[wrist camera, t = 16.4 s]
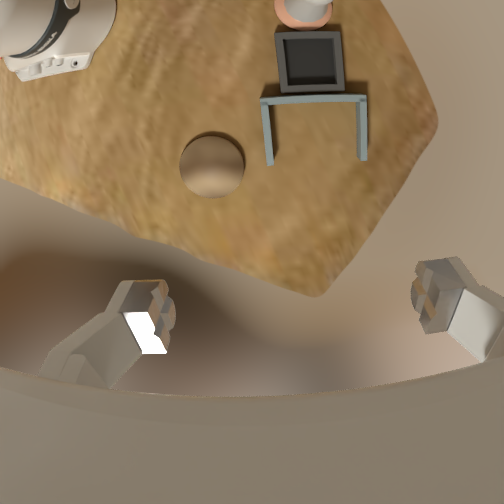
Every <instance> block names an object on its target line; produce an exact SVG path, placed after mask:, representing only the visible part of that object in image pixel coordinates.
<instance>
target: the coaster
mask: <svg viewBox="0 0 504 504" xmlns="http://www.w3.org/2000/svg"><path fill="white" fill-rule="evenodd" d="M274 8H275V12H276V14H277V16H278V18H279V19H280V20H281V21H282V22H283V23H284V24H285V25H286V26H288V27H290V28H292V29H295V30H298V31H312V30H316V29H318V28H320V27H322V26H323V25H325V24H326V23H327V21H328V20H329V19H330V16H331V13H332V4H331V3H329V4H328V9H327V12H326V14H325V15H324V16H323V18H322V19H319V20H317V21H315V22H301V21H299V20H296V19H294V18H293V17H292V16H291V15H289V14H288V13H287V11H286V8H285V6H284V0H275V3H274Z"/></svg>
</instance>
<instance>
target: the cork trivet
mask: <svg viewBox="0 0 504 504" xmlns="http://www.w3.org/2000/svg"><path fill="white" fill-rule="evenodd" d="M180 173H181V177H182V179H183V181H184V183H185V184H186V186H187V187H188V188H189V189H190V190H191V191H193V192H194V193H196V194H197V195H199V196H202V197H206V198H220V197H224V196H226V195H228V194H230V193H231V192H233V191H234V190H235V189H236V188H237V187H238V185H239V184H240V182H241V180H242V177H243V173H244V161H243V157H242V155H241V153H240V151H239V150H238V148H237V147H236V146H235V145H234V144H233V143H232V142H230V141H229V140H227V139H225V138H222V137H218V136H205V137H201V138H199V139H197V140H195V141H193V142H192V143H191V144H190V145H188V146H187V148H186V149H185V150H184V152H183V154H182V156H181V159H180Z"/></svg>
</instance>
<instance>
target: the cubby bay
mask: <svg viewBox="0 0 504 504" xmlns="http://www.w3.org/2000/svg"><path fill="white" fill-rule="evenodd" d="M308 102H356V118H357V157H358V158H359V159H360V160H361V161H367V99H366V95H365V94H353V93H335V94H301V95H284V96H270V97H260V104H261V113H262V122H263V131H264V140H265V150H266V159H267V166H270V165H274V159H273V148H272V138H271V128H270V119H269V109H268V105H275V104H289V103H308Z"/></svg>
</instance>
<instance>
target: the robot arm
mask: <svg viewBox="0 0 504 504" xmlns="http://www.w3.org/2000/svg"><path fill="white" fill-rule="evenodd" d="M115 13H116V2H115V0H0V59H2V57H4V61H5V64H6V66H7V67H8V69H9V70H10V71H12V72H16V74H17V76H18V77H19V79H20V80H21V81H29V80H33V79H37V78H42V77H46V76H51V75H55V74H60V73H65V72H71V71H76V70H82V69H85V68H87V67H88V66H89V64H90V62H91V59H92V57H93V54H94V52H95V50H96V49H97V47H98V46H99V45H100V44H101V43H102V41H103V40H104V39H105V37H106V36H107V34H108V33H109V31H110V29H111V27H112V24H113V21H114V18H115ZM76 61H77V62H78V64H77V65H76ZM415 273H416V275H417V276H418V277H417V278H416V279H415V280H414V281H413V282H412V287H411V301H412V305H413V307H414V309H415V311H417V312H418V313H420V314H421V315H420V318H419V321H420V323H421V325H422V327H423V330H424V332H425V334H431V333H437V332H444V331H447V333H449V334H450V335H451V336H452V337H453V338H454V339H456V340H457V341H458V342H459V343H460V344H461V345H462V346H463V347H464V348H466V349H467V350H468V351H469V352H470V353H471V354H472V355H473V356H475V358H477V359H478V360H479V361H480V362H481V363H479V364H476V365H472V366H468V367H464V368H460V369H456V370H452V371H448V372H444V373H440V374H436V375H431V376H427V377H422V378H417V379H412V380H407V381H402V382H396V383H391V384H384V385H378V386H371V387H365V388H358V389H350V390H341V391H333V392H322V393H311V394H297V395H282V396H253V397H209V396H181V395H165V394H152V393H141V392H131V391H122V390H114V389H110V388H111V387H112V386H113V385H114V384H115V383H116V382H117V381H118V380H119V379H120V377H122V375H123V374H124V373H125V372H126V371H127V370H128V369H129V368H130V367H131V366H132V365H133V364H134V363H135V362H136V360H138V358H139V357H140V356H141V355H142V354H143V353H166V351H167V347H168V344H169V341H170V335H169V333H168V332H169V331H170V330H171V329H172V328H173V327H174V323H175V307H174V303H173V300H172V299H171V298H169V297H168V296H167V293H168V290H169V289H168V286H167V284H166V281H164V280H136V281H135V280H132V281H122V282H121V283H120V284H119V286H118V287H117V289H116V291H115V293H114V295H113V297H112V299H111V300H110V302H109V304H108V306H107V308H106V310H105V312H104V313H100V314H98V315H97V316H95V317H94V318H93V319H91V320H90V321H89V322H87V323H86V324H84V325H83V326H82V327H80V328H79V329H78V330H76V331H75V332H74V333H72V334H71V335H70V336H68V337H67V338H66V339H64V340H63V341H62V342H61V343H59V344H58V345H56V346H55V347H54V348H52V349H51V350H50V352H49V354H48V355H47V357H46V359H45V361H44V363H43V365H42V367H41V369H40V371H39V373H38V375H37V376H34V375H30V374H25V373H21V372H17V371H13V370H10V369H6V368H2V367H0V504H504V297H502V296H501V295H499V294H497V293H496V292H494V291H492V290H490V289H489V288H487V287H485V286H483V285H482V286H480V285H479V284H478V283H477V281H476V280H475V278H474V277H473V276H472V274H471V273H470V271H469V270H468V269H467V267H466V266H465V265H464V263H463V262H462V261H461V259H460V258H458V257H449V258H444V259H436V260H426V261H419V262H418V263H417V265H416V269H415Z"/></svg>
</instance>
